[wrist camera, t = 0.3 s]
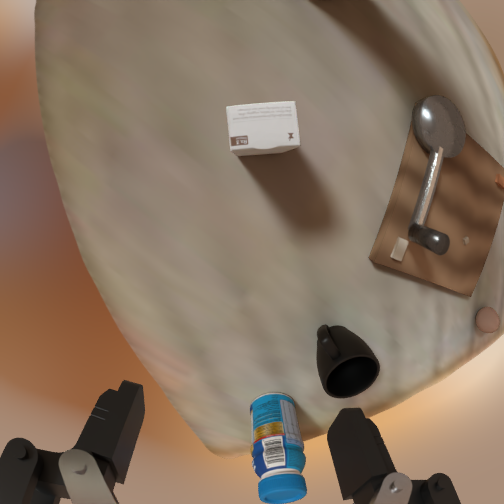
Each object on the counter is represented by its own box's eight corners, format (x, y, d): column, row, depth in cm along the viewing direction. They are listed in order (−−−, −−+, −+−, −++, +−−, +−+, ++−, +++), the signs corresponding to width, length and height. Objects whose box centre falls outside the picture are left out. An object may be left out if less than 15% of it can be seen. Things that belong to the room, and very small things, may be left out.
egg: (469, 313, 42) (488, 329, 35) (484, 297, 41) (504, 311, 34) (472, 328, 43) (490, 343, 36) (487, 312, 42) (505, 326, 36)
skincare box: (280, 121, 32) (299, 96, 20) (283, 155, 33) (304, 146, 21) (231, 125, 32) (225, 101, 20) (234, 159, 33) (230, 152, 21)
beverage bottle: (303, 395, 44) (325, 487, 25) (281, 421, 46) (293, 506, 27) (261, 385, 43) (270, 485, 24) (241, 413, 45) (243, 503, 26)
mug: (334, 290, 38) (358, 323, 29) (364, 341, 41) (386, 377, 32) (287, 320, 40) (298, 360, 30) (322, 367, 43) (337, 406, 33)
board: (415, 102, 31) (426, 99, 28) (502, 173, 34) (512, 174, 31) (368, 257, 37) (377, 264, 34) (464, 292, 40) (473, 299, 37)
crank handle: (417, 87, 28) (452, 74, 20) (458, 117, 29) (494, 113, 21) (379, 227, 34) (412, 243, 26) (424, 246, 35) (459, 264, 27)
